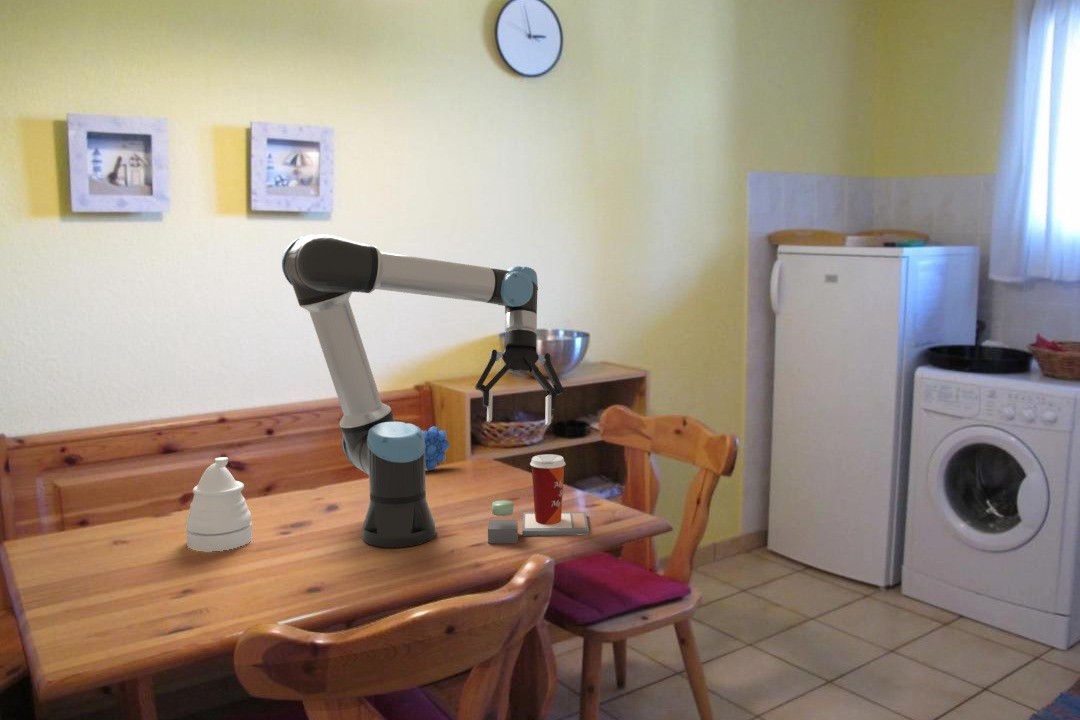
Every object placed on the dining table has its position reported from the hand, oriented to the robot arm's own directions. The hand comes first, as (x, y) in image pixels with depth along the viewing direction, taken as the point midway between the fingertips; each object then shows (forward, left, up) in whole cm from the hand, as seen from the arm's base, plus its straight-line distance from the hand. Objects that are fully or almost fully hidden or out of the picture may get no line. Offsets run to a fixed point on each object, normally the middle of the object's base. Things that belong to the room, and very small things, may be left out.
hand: (518, 422), depth 205 cm
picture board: (+8, -12, -21) cm, 25 cm away
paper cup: (+6, -11, -20) cm, 24 cm away
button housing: (-3, -20, -21) cm, 29 cm away
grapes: (-25, +37, -21) cm, 50 cm away
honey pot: (-62, -20, -21) cm, 68 cm away
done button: (-3, -20, -15) cm, 25 cm away
